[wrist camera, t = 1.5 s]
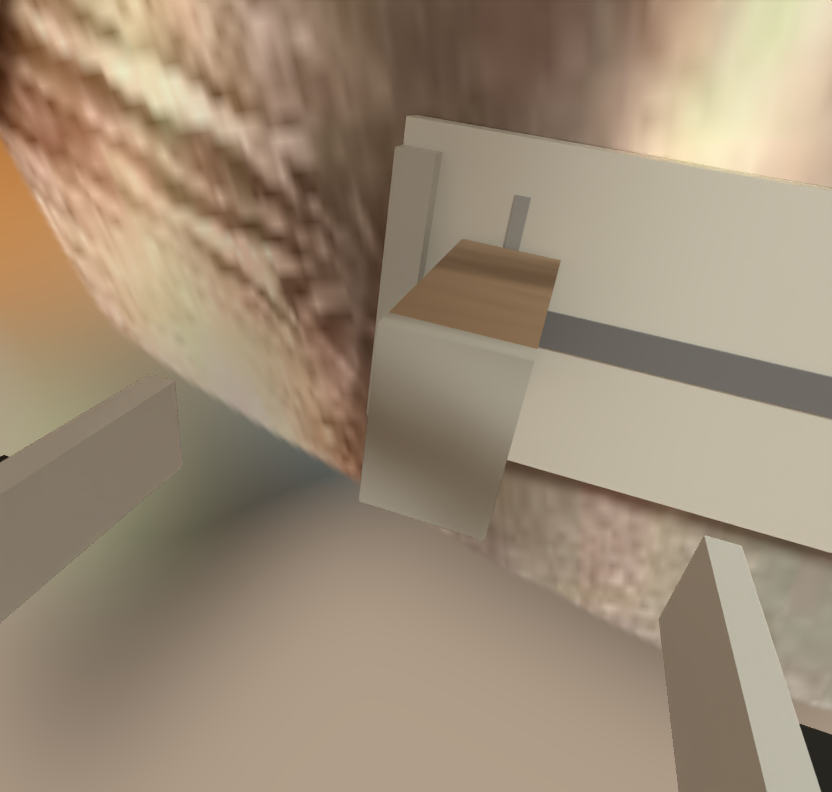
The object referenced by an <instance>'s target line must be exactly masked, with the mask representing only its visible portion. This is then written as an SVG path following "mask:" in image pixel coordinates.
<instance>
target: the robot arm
mask: <svg viewBox="0 0 832 792" xmlns="http://www.w3.org/2000/svg"><path fill="white" fill-rule="evenodd" d="M181 467H182V456H181V445H180V433H179V421H178V409H177V399H176V386H175V381H173V380H169V379H166V378H162V377H159V376H155V375H152V374H148V375H147V376H145V377H143V378H142V379H140V380H138V381H137V382H135V383H133V384H132V385H130V386H128V387H126V388H125V389H123V390H121V391H120V392H118V393H116V394H115V395H113V396H111V397H110V398H108V399H106V400H105V401H103V402H101V403H99V404H98V405H96V406H95V407H93V408H91V409H89V410H88V411H86V412H84V413H83V414H81V415H79V416H78V417H76V418H74V419H73V420H71V421H69V422H68V423H66V424H64V425H63V426H61V427H59V428H57V429H56V430H54V431H53V432H51V433H49V434H47V435H46V436H44V437H42V438H41V439H39V440H37V441H36V442H34V443H32V444H30V445H29V446H27V447H25V448H24V449H22V450H21V451H19V452H17V453H15V454H14V455H12V456H10V457H8V456H5V455H3V456H1V457H0V623H1V622H2V621H3V620H4V619H6V618H7V617H8V616H9V615H10V614H11V613H12V612H14V611H15V610H16V609H17V608H18V607H19V606H21V605H22V604H23V603H24V602H25V601H26V600H28V599H29V598H30V597H31V596H32V595H33V594H34V593H36V592H37V591H38V590H39V589H40V588H41V587H42V586H44V585H45V584H46V583H47V582H48V581H49V580H51V579H52V578H53V577H54V576H55V575H56V574H58V573H59V572H60V571H61V570H62V569H64V568H65V567H66V566H67V565H68V564H69V563H70V562H72V561H73V560H74V559H75V558H76V557H77V556H78V555H80V554H81V553H82V552H83V551H84V550H86V549H87V548H88V547H89V546H90V545H91V544H92V543H94V542H95V541H96V540H97V539H98V538H99V537H100V536H102V535H103V534H104V533H105V532H106V531H108V530H109V529H110V528H111V527H112V526H113V525H115V524H116V523H117V522H118V521H119V520H120V519H122V518H123V517H124V516H125V515H126V514H127V513H128V512H129V511H131V510H132V509H133V508H134V507H135V506H137V505H138V504H139V503H140V502H141V501H142V500H144V499H145V498H146V497H147V496H148V495H149V494H150V493H151V492H153V491H154V490H155V489H156V488H157V487H159V486H160V485H161V484H162V483H163V482H164V481H166V480H167V479H168V478H169V477H170V476H171V475H172V474H174V473H175V472H176V471H177V470H178V469H179V468H181ZM659 626H660V634H661V643H662V652H663V660H664V669H665V678H666V686H667V695H668V704H669V712H670V721H671V729H672V738H673V747H674V755H675V764H676V773H677V781H678V789H679V792H832V735H831V734H828V733H825V732H822V731H819V730H816V729H813V728H810V727H807V726H805V725H802V724H799V722H798V719H797V716H796V713H795V709H794V706H793V703H792V700H791V697H790V694H789V691H788V688H787V685H786V682H785V678H784V675H783V672H782V669H781V666H780V663H779V660H778V657H777V654H776V651H775V648H774V644H773V641H772V638H771V635H770V632H769V629H768V626H767V623H766V620H765V617H764V614H763V610H762V607H761V604H760V601H759V598H758V595H757V592H756V589H755V586H754V583H753V580H752V576H751V573H750V570H749V567H748V564H747V561H746V558H745V555H744V552H743V549H742V546H740V545H736V544H733V543H729V542H726V541H723V540H719V539H716V538H712V537H709V536H705V535H704V537H703V538H702V540H701V542H700V544H699V546H698V548H697V550H696V551H695V553H694V555H693V557H692V559H691V561H690V562H689V564H688V566H687V568H686V570H685V572H684V573H683V575H682V577H681V579H680V581H679V583H678V585H677V586H676V588H675V590H674V592H673V594H672V596H671V597H670V599H669V601H668V603H667V605H666V607H665V609H664V610H663V612H662V614H661V616H660V618H659Z"/></svg>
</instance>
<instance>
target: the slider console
mask: <svg viewBox="0 0 832 792" xmlns="http://www.w3.org/2000/svg"><path fill="white" fill-rule="evenodd" d="M461 239H465V240H470V241H474V242H479V243H484V244H488V245H493V246H497V247H502V248H507V249H511V250H516V251H521V252H525V253H530V254H534V255H539V256H544V257H548V258H553V259H558V260H561V262H560V266H559V270H558V274H557V277H556V281H555V285H554V289H553V292H552V296H551V300H550V304H549V308H548V311H547V315H546V319H545V323H544V327H543V330H542V334H541V338H540V342H539V345H538V349H537V353H536V357H535V361H534V364H533V368H532V371H531V375H530V379H529V382H528V386H527V390H526V393H525V397H524V400H523V404H522V408H521V411H520V415H519V419H518V422H517V426H516V429H515V433H514V437H513V440H512V444H511V447H510V451H509V455H508V458H507V460H509V461H512V462H516V463H519V464H523V465H526V466H530V467H533V468H537V469H540V470H544V471H547V472H551V473H554V474H558V475H561V476H565V477H568V478H572V479H575V480H579V481H582V482H586V483H589V484H593V485H596V486H600V487H603V488H607V489H610V490H613V491H617V492H620V493H624V494H627V495H631V496H634V497H638V498H641V499H645V500H648V501H652V502H655V503H659V504H662V505H666V506H669V507H673V508H676V509H680V510H683V511H687V512H690V513H694V514H697V515H701V516H704V517H708V518H711V519H715V520H718V521H722V522H725V523H729V524H732V525H735V526H739V527H742V528H746V529H749V530H753V531H756V532H760V533H763V534H767V535H770V536H774V537H777V538H781V539H784V540H788V541H791V542H795V543H798V544H802V545H805V546H809V547H812V548H816V549H819V550H823V551H826V552H830V553H832V188H829V187H824V186H818V185H812V184H807V183H801V182H795V181H790V180H784V179H778V178H772V177H767V176H761V175H755V174H750V173H744V172H738V171H733V170H727V169H721V168H716V167H710V166H704V165H699V164H693V163H687V162H682V161H676V160H670V159H665V158H659V157H653V156H648V155H642V154H636V153H631V152H625V151H619V150H614V149H608V148H602V147H597V146H591V145H585V144H579V143H574V142H568V141H562V140H557V139H551V138H545V137H540V136H534V135H528V134H523V133H517V132H511V131H506V130H500V129H494V128H489V127H483V126H477V125H472V124H466V123H460V122H455V121H449V120H443V119H438V118H432V117H426V116H421V115H413V116H406V124H405V133H404V142H403V145H399V146H395V151H394V161H393V170H392V179H391V188H390V198H389V207H388V216H387V225H386V235H385V244H384V253H383V262H382V272H381V281H380V290H379V299H378V309H377V318H376V327H375V336H374V346H373V355H372V364H371V373H370V383H369V392H368V401H367V411H366V414H367V415H368V411H369V402H370V393H371V384H372V375H373V366H374V357H375V348H376V339H377V330H378V322H379V321H380V320H381V319H382V318H383V317H384V316H385V315H386V314H387V313H388V312H389V311H390V310H391V309H392V308H393V307H394V306H395V305H396V304H397V303H398V302H399V301H400V300H401V299H402V298H403V297H404V296H405V295H406V294H407V293H408V292H409V291H410V290H411V289H412V288H413V287H414V286H415V285H416V284H417V283H418V282H419V281H420V280H421V279H422V278H423V277H424V276H425V275H426V274H427V273H428V272H429V271H430V270H431V269H432V268H433V267H434V266H435V265H436V264H437V263H438V262H439V261H440V260H441V259H442V258H443V257H444V256H445V255H446V254H447V253H448V252H449V251H450V250H451V249H452V248H453V247H454V246H455V245H456V244H457V243H458V242H459V241H460V240H461Z"/></svg>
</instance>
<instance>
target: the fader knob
mask: <svg viewBox="0 0 832 792" xmlns="http://www.w3.org/2000/svg"><path fill="white" fill-rule="evenodd" d="M560 262H561V260H558V259H553V258H548V257H544V256H539V255H534V254H530V253H525V252H521V251H516V250H511V249H507V248H502V247H497V246H493V245H488V244H484V243H479V242H474V241H470V240H465V239H461V240H460V241H459V242H458V243H457V244H456V245H455V246H454V247H453V248H452V249H451V250H450V251H449V252H448V253H447V254H446V255H445V256H444V257H443V258H442V259H441V260H440V261H439V262H438V263H437V264H436V265H435V266H434V267H433V268H432V269H431V270H430V271H429V272H428V273H427V274H426V275H425V276H424V277H423V278H422V279H421V280H420V281H419V282H418V283H417V284H416V285H415V286H414V287H413V288H412V289H411V290H410V291H409V292H408V293H407V294H406V295H405V296H404V297H403V298H402V299H401V300H400V301H399V302H398V303H397V304H396V305H395V306H394V307H393V308H392V309H391V310H390V311H389V312H388V313H387V314H386V315H385V316H384V317H383V318H382V319H381V320H380V321H379V322H378V330H377V339H376V348H375V357H374V366H373V375H372V384H371V393H370V402H369V411H368V420H367V429H366V438H365V447H364V457H363V466H362V475H361V484H360V493H359V502H362V503H365V504H369V505H372V506H375V507H378V508H381V509H384V510H387V511H390V512H394V513H397V514H400V515H403V516H406V517H409V518H412V519H416V520H419V521H422V522H425V523H428V524H431V525H435V526H438V527H441V528H444V529H447V530H450V531H454V532H457V533H460V534H463V535H466V536H469V537H472V538H476V539H479V540H482V541H485V538H486V534H487V531H488V527H489V523H490V520H491V516H492V513H493V509H494V505H495V502H496V498H497V495H498V491H499V487H500V484H501V480H502V476H503V473H504V469H505V466H506V462H507V458H508V455H509V451H510V447H511V444H512V440H513V437H514V433H515V429H516V426H517V422H518V419H519V415H520V411H521V408H522V404H523V400H524V397H525V393H526V390H527V386H528V382H529V379H530V375H531V371H532V368H533V364H534V361H535V357H536V353H537V349H538V345H539V342H540V338H541V334H542V330H543V327H544V323H545V319H546V315H547V311H548V308H549V304H550V300H551V296H552V292H553V289H554V285H555V281H556V277H557V274H558V270H559V266H560Z"/></svg>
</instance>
